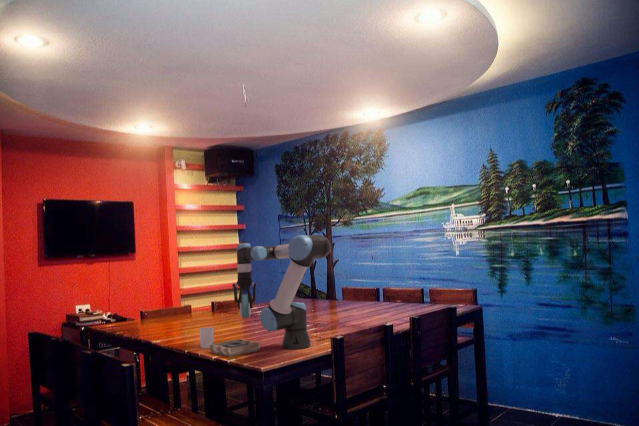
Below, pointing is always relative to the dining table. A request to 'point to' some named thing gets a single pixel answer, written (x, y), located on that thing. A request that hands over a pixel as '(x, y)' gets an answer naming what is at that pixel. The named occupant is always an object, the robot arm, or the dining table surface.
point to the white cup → (206, 336)
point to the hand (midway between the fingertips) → (245, 314)
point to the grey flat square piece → (234, 347)
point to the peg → (245, 305)
